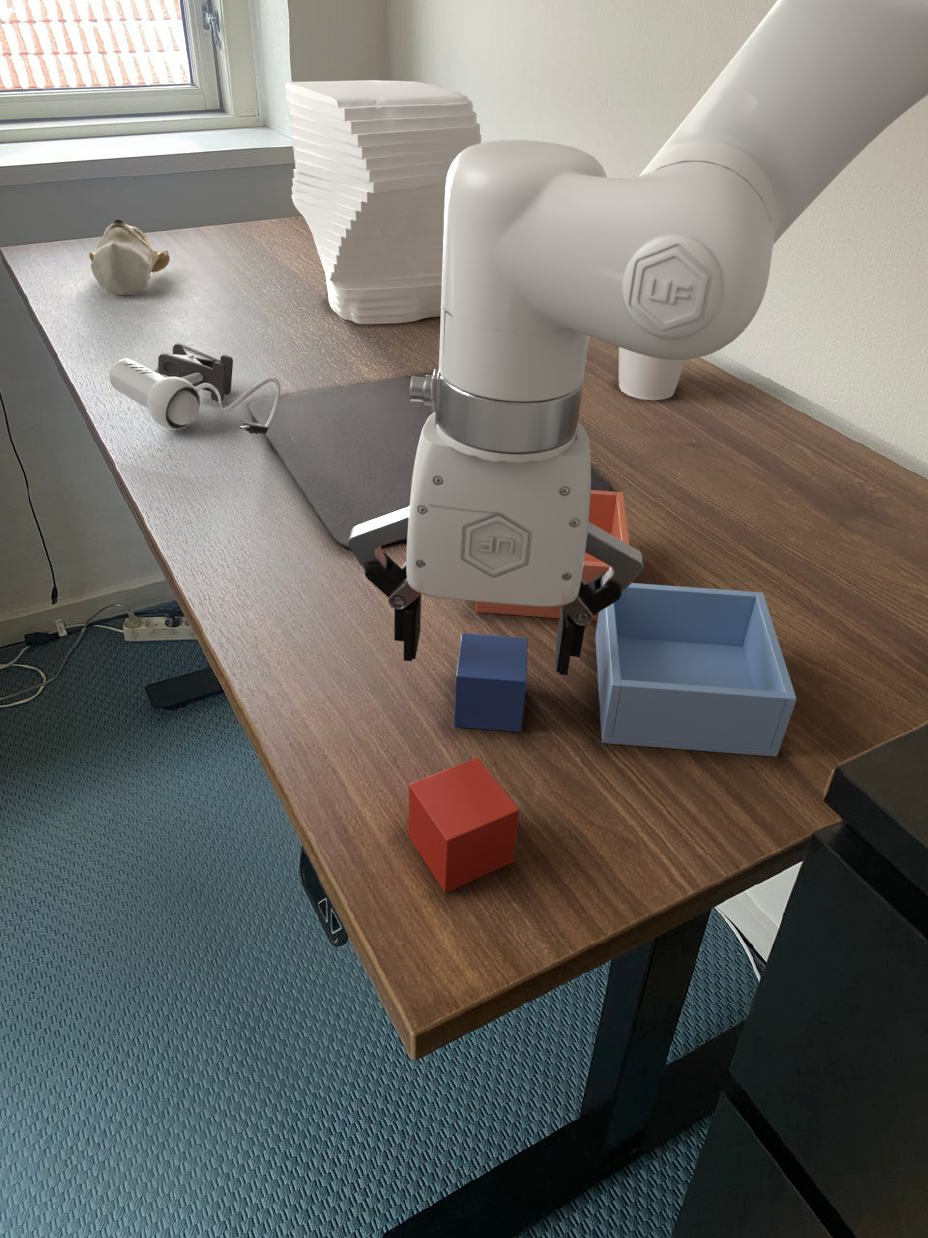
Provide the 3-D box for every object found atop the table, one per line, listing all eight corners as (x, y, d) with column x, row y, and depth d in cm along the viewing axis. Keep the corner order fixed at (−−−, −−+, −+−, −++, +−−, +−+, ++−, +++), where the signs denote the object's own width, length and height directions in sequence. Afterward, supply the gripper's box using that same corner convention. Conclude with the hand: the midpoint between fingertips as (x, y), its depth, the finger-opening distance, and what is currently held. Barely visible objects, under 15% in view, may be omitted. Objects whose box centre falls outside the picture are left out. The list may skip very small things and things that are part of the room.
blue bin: (747, 647, 68) (763, 592, 65) (777, 757, 59) (797, 699, 56) (595, 635, 68) (603, 580, 65) (601, 743, 60) (612, 685, 56)
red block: (474, 808, 55) (477, 756, 52) (513, 862, 52) (519, 809, 49) (408, 836, 53) (408, 784, 50) (445, 893, 50) (447, 840, 47)
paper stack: (291, 291, 127) (274, 76, 111) (476, 278, 134) (485, 75, 119) (323, 347, 111) (309, 105, 96) (530, 329, 119) (549, 102, 103)
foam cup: (652, 413, 100) (672, 291, 92) (588, 385, 105) (602, 268, 97) (705, 391, 105) (729, 274, 97) (641, 365, 110) (659, 253, 102)
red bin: (615, 543, 79) (623, 491, 76) (623, 623, 70) (633, 568, 67) (484, 534, 79) (487, 482, 76) (475, 612, 70) (478, 557, 67)
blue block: (523, 687, 64) (527, 637, 61) (521, 732, 60) (526, 681, 57) (459, 682, 64) (461, 632, 61) (453, 727, 60) (455, 676, 58)
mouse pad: (620, 493, 85) (620, 491, 85) (342, 554, 75) (342, 552, 75) (471, 367, 108) (471, 366, 107) (243, 402, 98) (243, 400, 98)
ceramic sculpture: (66, 230, 115) (86, 207, 127) (79, 301, 120) (98, 272, 132) (154, 230, 117) (166, 207, 129) (164, 300, 122) (175, 272, 134)
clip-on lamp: (307, 440, 96) (182, 372, 102) (314, 384, 93) (184, 316, 98) (226, 475, 88) (94, 399, 93) (230, 415, 84) (93, 339, 90)
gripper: (332, 423, 46) (342, 680, 57) (680, 451, 46) (625, 706, 56) (357, 364, 52) (362, 607, 62) (665, 389, 52) (618, 630, 62)
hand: (486, 654), depth 59 cm, fingers open, 9 cm apart
